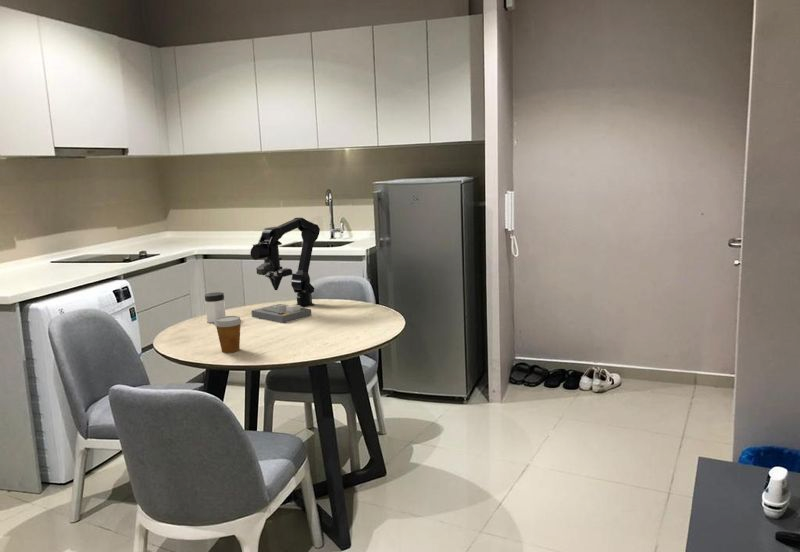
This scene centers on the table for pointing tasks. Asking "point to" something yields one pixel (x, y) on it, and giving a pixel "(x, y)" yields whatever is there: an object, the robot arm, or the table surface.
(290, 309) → the offwhite button
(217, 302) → the jar
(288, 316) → the control panel
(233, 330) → the disposable coffee cup
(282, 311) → the slider knob
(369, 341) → the table surface
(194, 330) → the table surface
